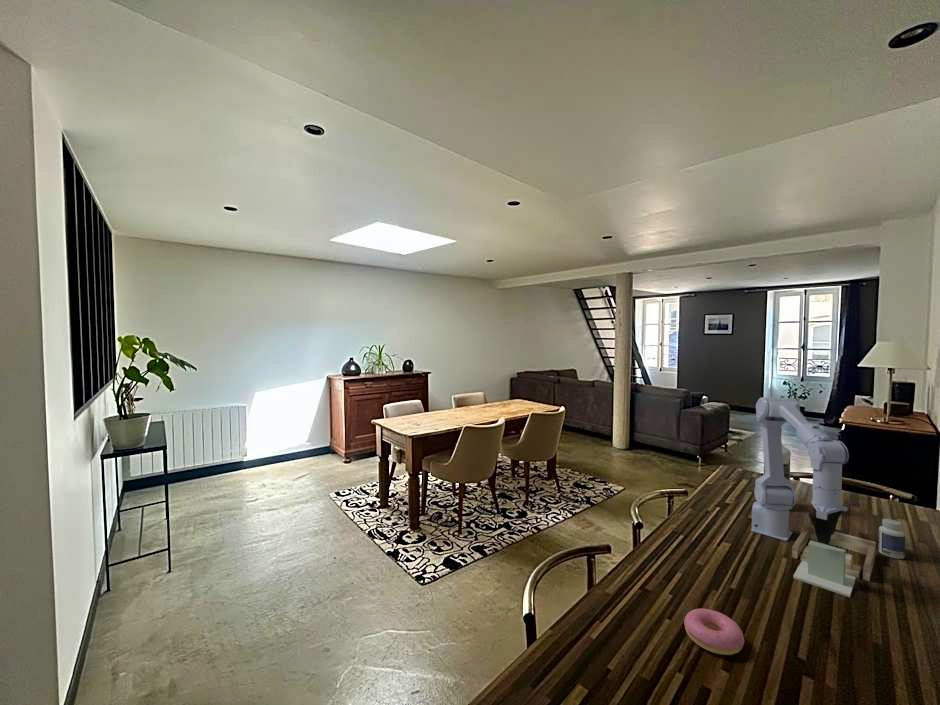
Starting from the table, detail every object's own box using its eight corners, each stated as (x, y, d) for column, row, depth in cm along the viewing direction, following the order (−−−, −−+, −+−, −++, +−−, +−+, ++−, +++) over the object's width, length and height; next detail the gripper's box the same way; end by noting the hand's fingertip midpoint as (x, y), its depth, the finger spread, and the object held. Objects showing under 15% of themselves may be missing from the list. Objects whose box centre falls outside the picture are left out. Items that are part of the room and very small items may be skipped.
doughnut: (676, 639, 86) (676, 620, 86) (693, 614, 94) (693, 597, 94) (736, 669, 78) (736, 647, 78) (750, 639, 86) (750, 620, 86)
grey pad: (793, 578, 108) (793, 575, 108) (801, 562, 115) (801, 560, 115) (850, 597, 99) (850, 595, 99) (855, 579, 107) (855, 577, 107)
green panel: (807, 573, 109) (808, 544, 108) (809, 569, 111) (810, 540, 110) (843, 585, 103) (843, 554, 103) (844, 580, 105) (845, 550, 105)
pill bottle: (910, 560, 116) (911, 526, 116) (887, 558, 117) (888, 524, 117) (894, 550, 121) (895, 518, 121) (873, 549, 122) (874, 516, 122)
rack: (791, 557, 118) (792, 543, 118) (804, 536, 130) (805, 523, 130) (869, 581, 106) (869, 566, 106) (875, 555, 118) (875, 542, 118)
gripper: (843, 498, 100) (842, 553, 100) (851, 484, 109) (850, 534, 110) (806, 490, 105) (805, 542, 105) (817, 477, 115) (816, 525, 115)
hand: (825, 538), depth 108 cm, fingers open, 7 cm apart
